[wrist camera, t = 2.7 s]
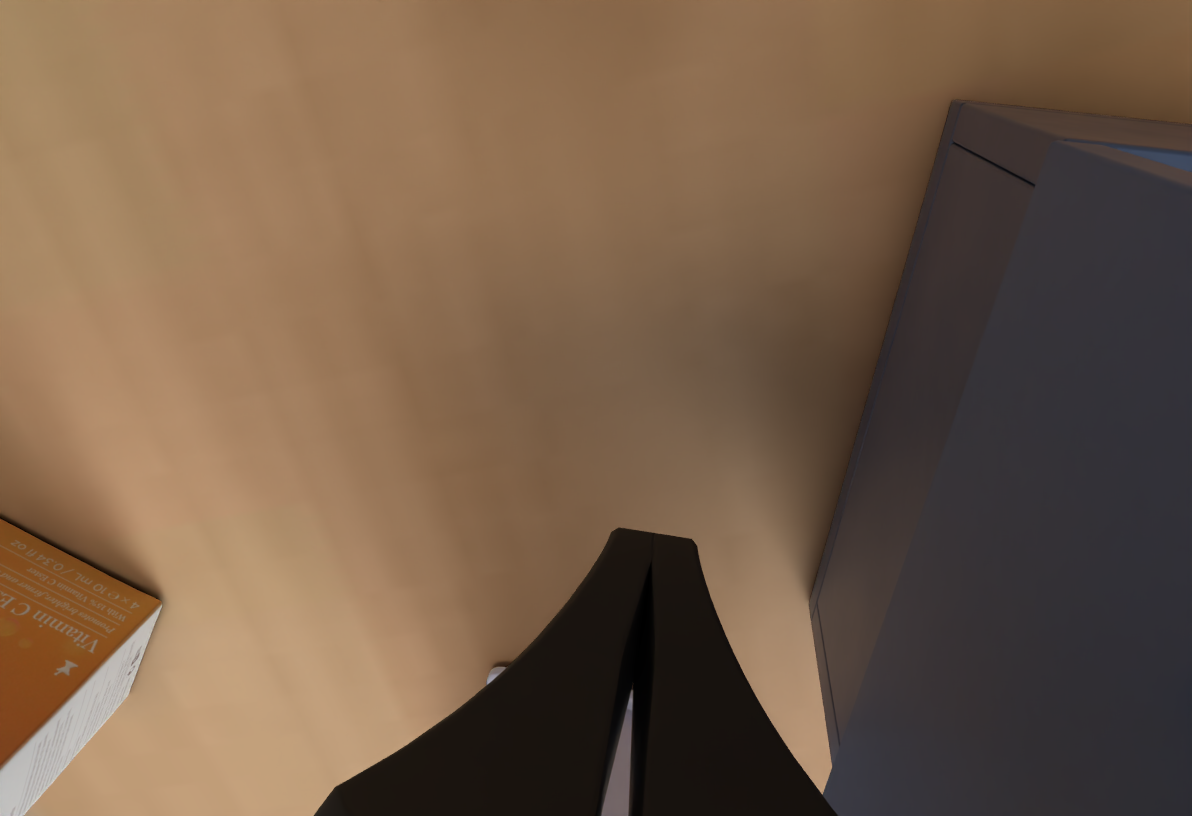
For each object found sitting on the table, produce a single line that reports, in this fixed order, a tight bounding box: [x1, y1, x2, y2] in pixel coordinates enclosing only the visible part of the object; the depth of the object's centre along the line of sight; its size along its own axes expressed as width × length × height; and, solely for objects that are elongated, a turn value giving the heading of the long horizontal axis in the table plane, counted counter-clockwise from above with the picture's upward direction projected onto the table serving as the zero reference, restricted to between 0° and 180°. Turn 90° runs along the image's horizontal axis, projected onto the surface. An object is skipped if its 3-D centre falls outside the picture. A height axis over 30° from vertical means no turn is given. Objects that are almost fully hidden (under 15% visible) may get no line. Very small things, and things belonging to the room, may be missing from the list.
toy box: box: [809, 100, 1192, 767], centre depth 17 cm, size 10×15×6 cm
